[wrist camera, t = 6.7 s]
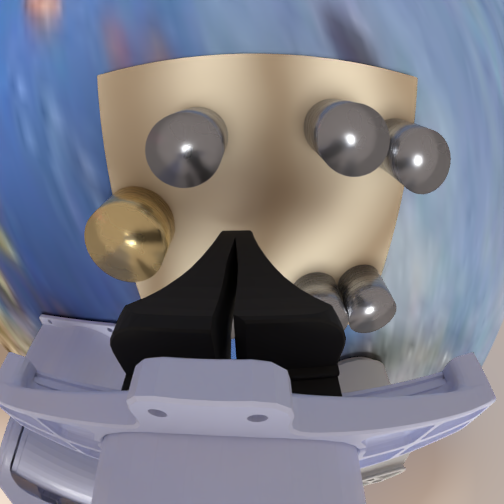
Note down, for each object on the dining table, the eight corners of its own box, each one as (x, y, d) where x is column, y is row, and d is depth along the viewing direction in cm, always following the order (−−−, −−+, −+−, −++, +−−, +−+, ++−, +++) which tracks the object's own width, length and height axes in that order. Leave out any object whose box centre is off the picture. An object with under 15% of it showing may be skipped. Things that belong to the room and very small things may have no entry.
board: (152, 319, 20) (150, 325, 19) (102, 75, 10) (97, 75, 10) (362, 317, 20) (364, 322, 19) (411, 77, 10) (417, 77, 10)
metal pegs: (191, 308, 18) (184, 343, 16) (163, 100, 11) (140, 104, 9) (377, 303, 18) (391, 334, 16) (422, 114, 11) (456, 125, 9)
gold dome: (114, 255, 16) (98, 280, 14) (97, 189, 13) (74, 209, 11) (180, 255, 16) (170, 282, 14) (169, 183, 13) (155, 202, 11)
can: (351, 343, 22) (384, 474, 12) (395, 361, 24) (427, 463, 14) (295, 383, 25) (306, 496, 15) (344, 395, 27) (361, 489, 18)
